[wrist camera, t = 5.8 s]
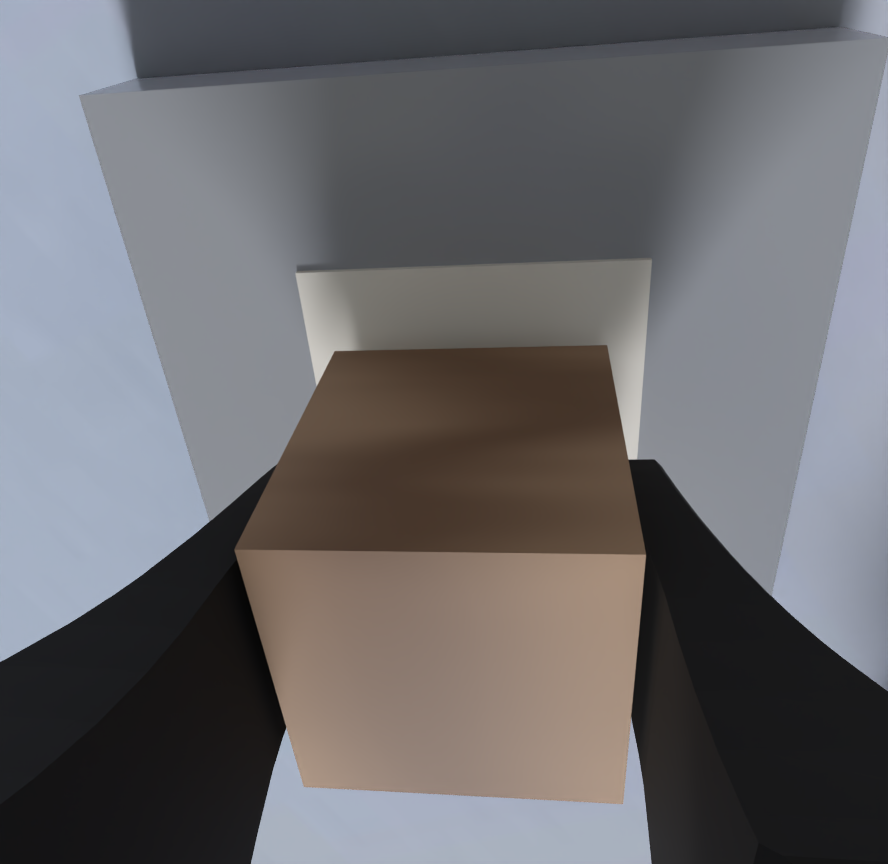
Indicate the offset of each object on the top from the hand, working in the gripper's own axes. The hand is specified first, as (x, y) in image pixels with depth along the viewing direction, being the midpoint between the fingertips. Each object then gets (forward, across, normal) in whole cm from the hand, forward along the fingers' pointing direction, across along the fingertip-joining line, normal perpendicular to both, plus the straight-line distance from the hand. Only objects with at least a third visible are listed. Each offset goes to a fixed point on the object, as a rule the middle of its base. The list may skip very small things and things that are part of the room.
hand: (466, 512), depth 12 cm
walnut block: (+2, 0, 0) cm, 2 cm away
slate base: (+5, 0, 0) cm, 5 cm away
